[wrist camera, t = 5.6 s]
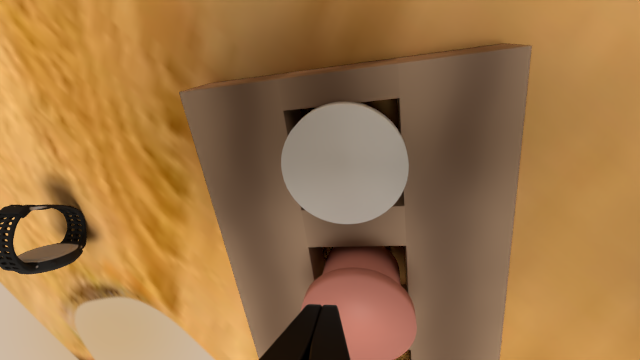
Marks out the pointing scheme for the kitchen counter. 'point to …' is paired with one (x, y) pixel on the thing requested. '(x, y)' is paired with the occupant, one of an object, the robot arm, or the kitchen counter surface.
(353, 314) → the red plug
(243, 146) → the socket board
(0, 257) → the smartwatch
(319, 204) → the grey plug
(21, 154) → the kitchen counter surface
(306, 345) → the robot arm
